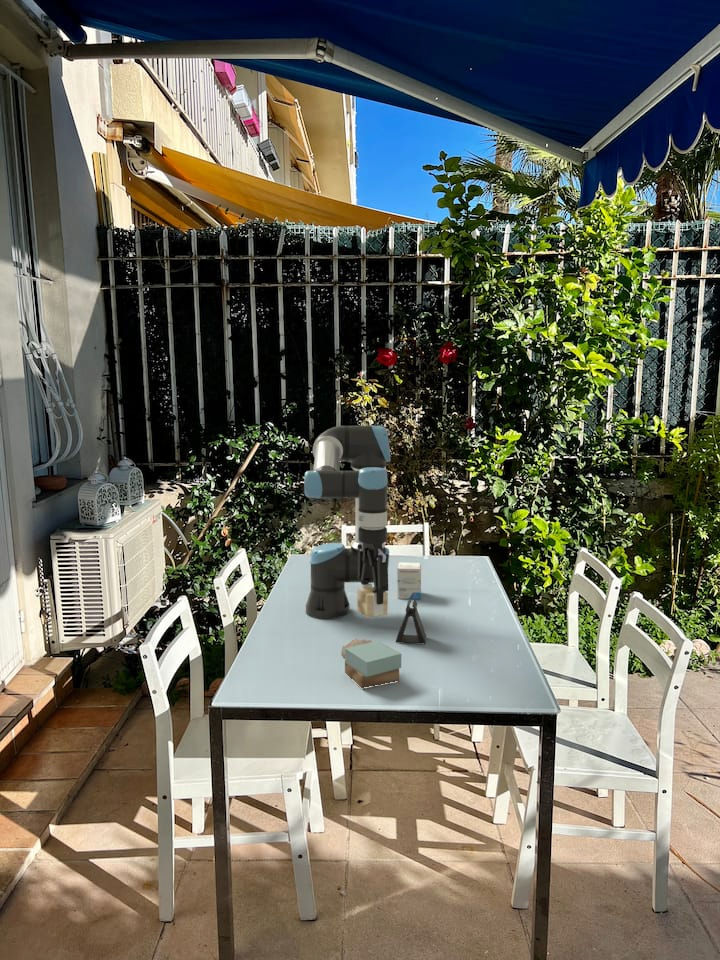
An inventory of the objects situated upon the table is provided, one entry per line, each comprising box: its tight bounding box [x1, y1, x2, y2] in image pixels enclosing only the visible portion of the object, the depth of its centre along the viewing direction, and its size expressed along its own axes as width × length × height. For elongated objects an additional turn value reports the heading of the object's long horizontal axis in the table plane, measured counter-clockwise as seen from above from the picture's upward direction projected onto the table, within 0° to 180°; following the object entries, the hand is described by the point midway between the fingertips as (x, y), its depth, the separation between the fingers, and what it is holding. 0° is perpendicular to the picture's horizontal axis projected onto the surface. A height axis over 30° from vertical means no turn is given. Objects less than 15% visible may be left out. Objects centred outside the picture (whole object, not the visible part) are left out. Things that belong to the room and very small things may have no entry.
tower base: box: [344, 662, 400, 689], centre depth 193 cm, size 11×11×4 cm
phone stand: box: [395, 599, 427, 644], centre depth 219 cm, size 9×6×12 cm, turn 80°
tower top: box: [344, 640, 402, 677], centre depth 192 cm, size 11×11×4 cm
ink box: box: [396, 562, 422, 600], centre depth 262 cm, size 9×8×12 cm
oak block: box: [356, 586, 389, 619], centre depth 190 cm, size 6×6×6 cm
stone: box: [340, 638, 373, 659], centre depth 211 cm, size 12×12×3 cm
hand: (372, 611), depth 191 cm, fingers closed on oak block, 6 cm apart
